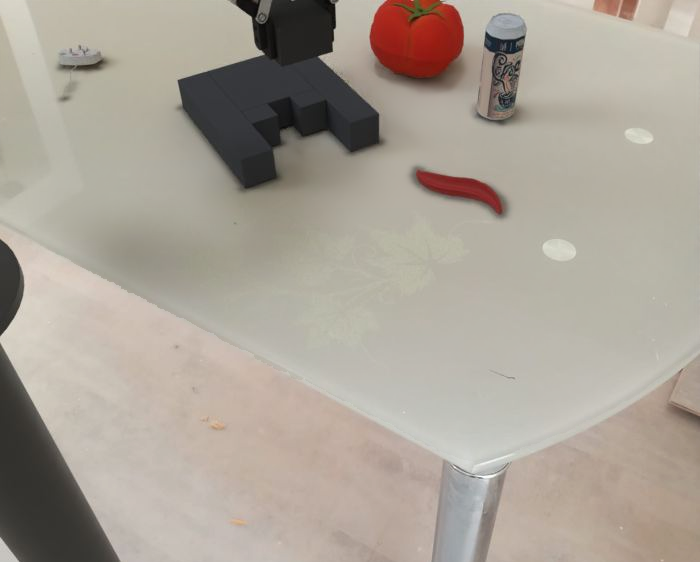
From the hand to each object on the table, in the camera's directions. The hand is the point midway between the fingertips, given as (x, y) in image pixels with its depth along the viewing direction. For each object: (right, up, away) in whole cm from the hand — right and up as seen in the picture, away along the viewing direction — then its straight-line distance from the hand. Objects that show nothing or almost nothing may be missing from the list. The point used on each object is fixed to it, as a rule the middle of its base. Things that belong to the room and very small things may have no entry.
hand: (296, 43), depth 81 cm
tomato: (+15, +7, +25) cm, 30 cm away
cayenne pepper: (+18, -14, +7) cm, 24 cm away
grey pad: (-4, -4, +17) cm, 17 cm away
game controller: (-33, +6, +26) cm, 42 cm away
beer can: (+24, -2, +17) cm, 30 cm away
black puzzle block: (-1, 0, +1) cm, 1 cm away
